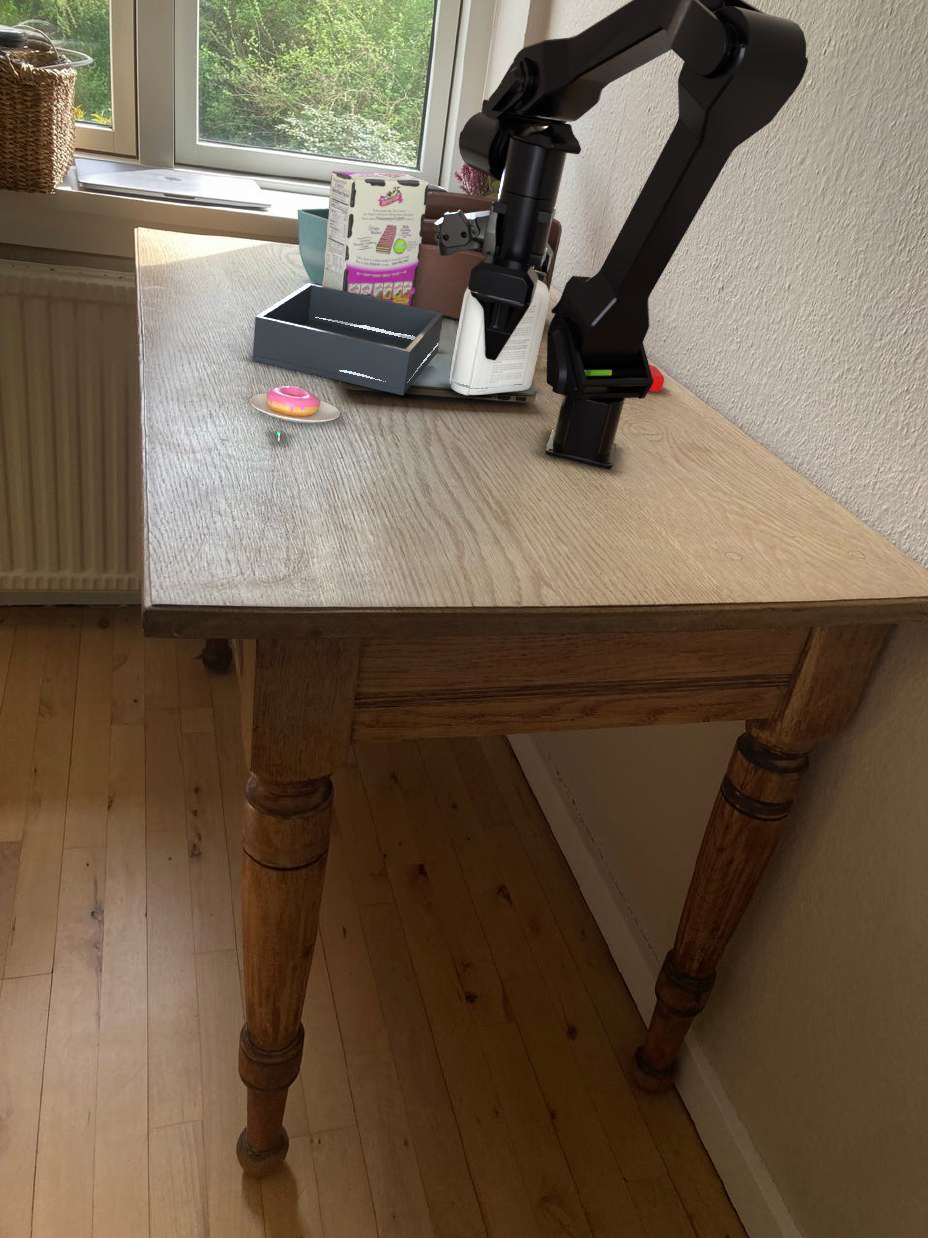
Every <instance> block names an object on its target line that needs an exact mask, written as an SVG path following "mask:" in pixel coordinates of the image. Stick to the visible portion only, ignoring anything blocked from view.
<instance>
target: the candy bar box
mask: <svg viewBox="0 0 928 1238" xmlns="http://www.w3.org/2000/svg"><path fill="white" fill-rule="evenodd" d="M428 184H430V182H428V181H426V180H425V179H422V178H419V177H417V176H413V175H412V174H407V173H392V172H391V173H390V172H389V173H388V172H370V171H369V172H366V171H365V172H363V171H343V170H332V171H331V177H330V189H329V201H328V208H329V212H328V224H327V238H326V248H325V262H324V273H323V285H321V286H324V287H328V288H333V289H337V290H342V291H346V292H350V293H355V294H359V295H364V296H368V297H373V298H377V299H382V300H386V301H390V302H395V303H399V304H404V305H408V306H413V301H414V293H415V285H416V277H417V269H418V262H419V253H420V245H421V238H422V231H423V223H424V215H425V207H426V200H427V192H428Z"/></svg>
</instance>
